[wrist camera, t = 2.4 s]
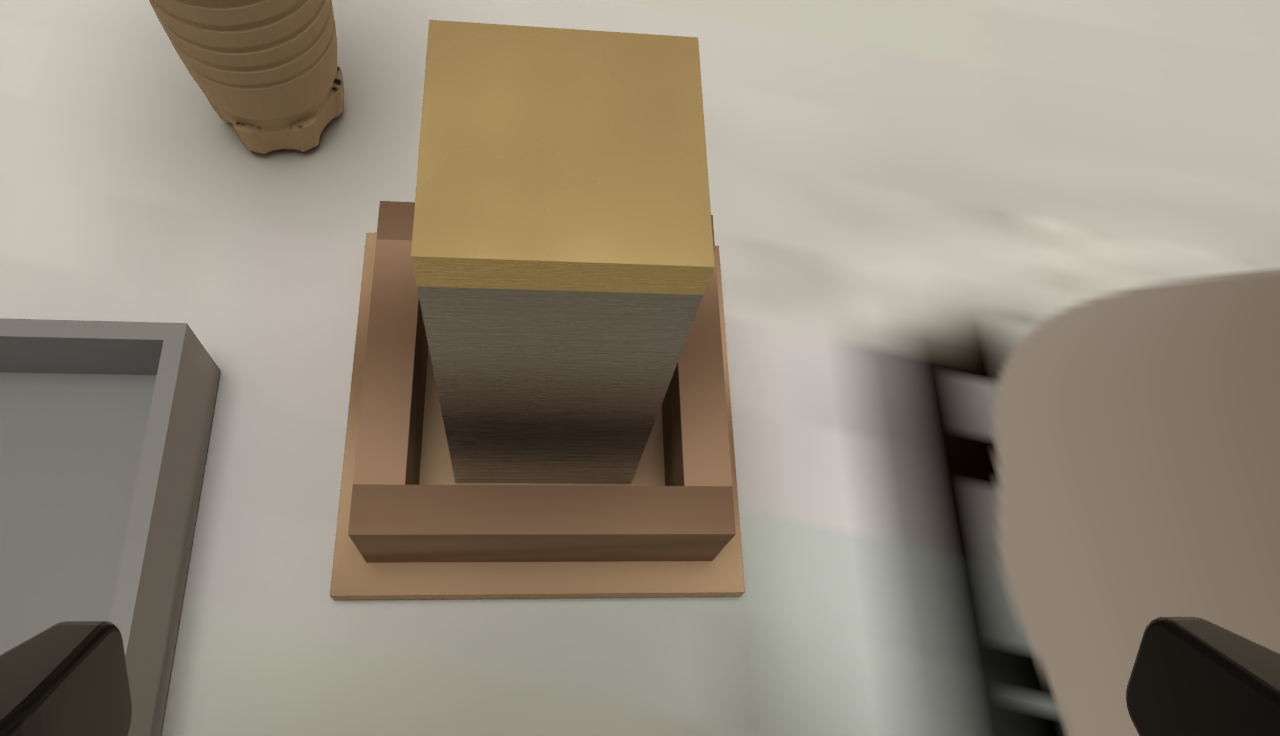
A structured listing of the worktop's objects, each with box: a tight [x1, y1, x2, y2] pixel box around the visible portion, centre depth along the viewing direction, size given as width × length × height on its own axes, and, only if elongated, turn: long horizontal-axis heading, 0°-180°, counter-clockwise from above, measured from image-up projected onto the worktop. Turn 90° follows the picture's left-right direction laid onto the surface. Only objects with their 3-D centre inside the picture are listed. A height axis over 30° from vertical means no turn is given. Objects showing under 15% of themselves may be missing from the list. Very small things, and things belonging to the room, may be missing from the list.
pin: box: [411, 20, 715, 484], centre depth 18 cm, size 4×4×10 cm
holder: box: [330, 201, 745, 600], centre depth 21 cm, size 9×9×3 cm
